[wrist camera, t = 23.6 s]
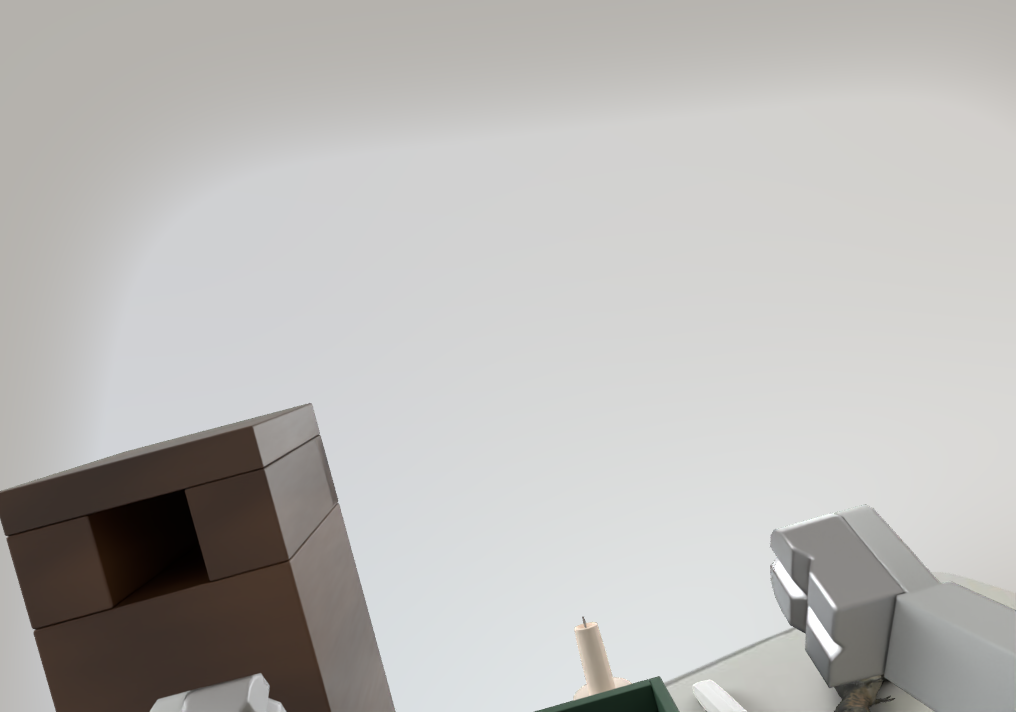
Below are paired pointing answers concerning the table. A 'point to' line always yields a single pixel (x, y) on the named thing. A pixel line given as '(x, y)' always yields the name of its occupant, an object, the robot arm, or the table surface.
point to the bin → (624, 700)
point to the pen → (715, 698)
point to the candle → (594, 662)
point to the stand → (197, 573)
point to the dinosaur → (860, 694)
